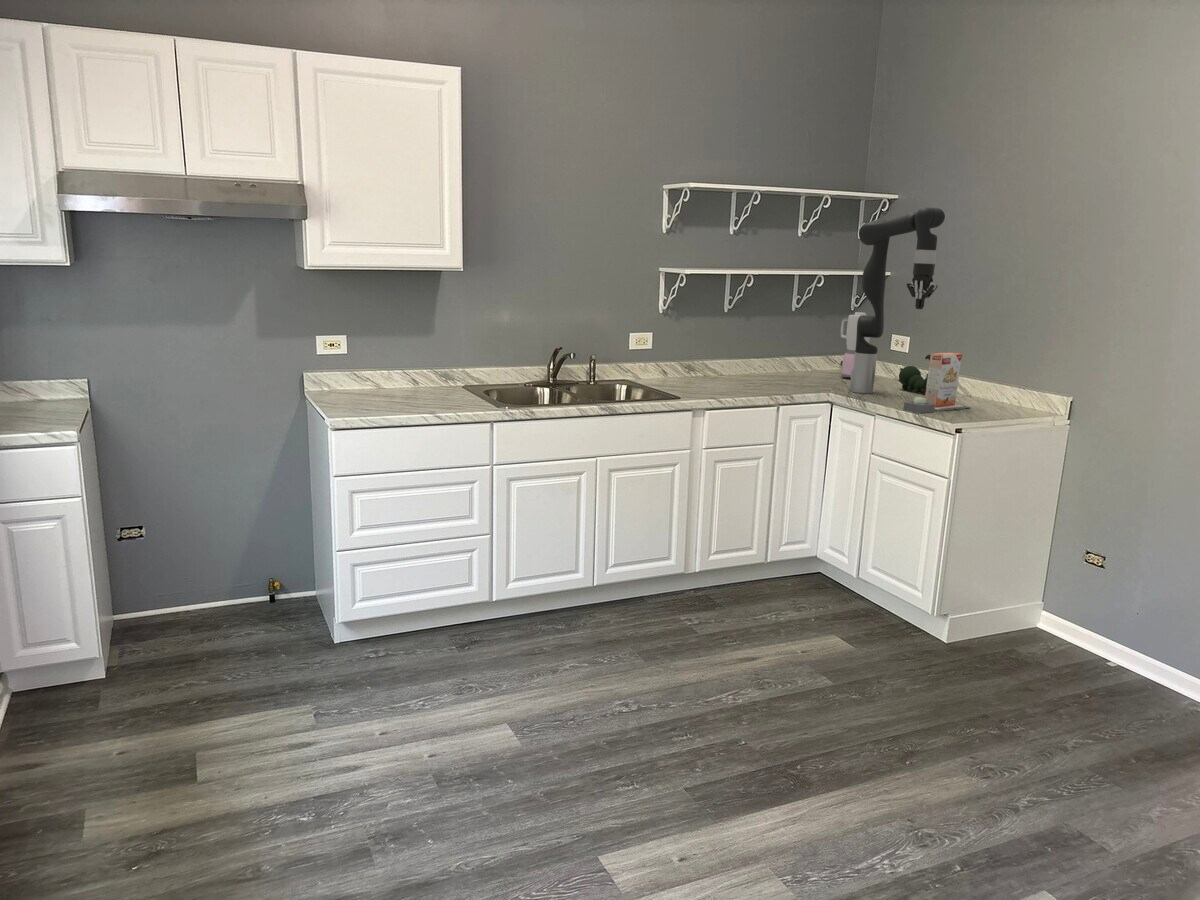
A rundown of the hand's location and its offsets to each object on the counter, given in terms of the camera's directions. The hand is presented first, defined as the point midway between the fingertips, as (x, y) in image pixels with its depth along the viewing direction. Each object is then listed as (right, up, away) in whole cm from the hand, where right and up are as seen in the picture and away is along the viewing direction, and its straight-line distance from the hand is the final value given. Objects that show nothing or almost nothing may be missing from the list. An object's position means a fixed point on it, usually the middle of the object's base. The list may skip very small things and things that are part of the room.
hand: (919, 309), depth 329 cm
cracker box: (+15, -36, +18) cm, 43 cm away
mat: (+15, -36, +18) cm, 43 cm away
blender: (+2, -19, +96) cm, 97 cm away
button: (+3, -37, +7) cm, 38 cm away
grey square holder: (+3, -38, +8) cm, 39 cm away
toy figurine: (+19, -28, +57) cm, 67 cm away
